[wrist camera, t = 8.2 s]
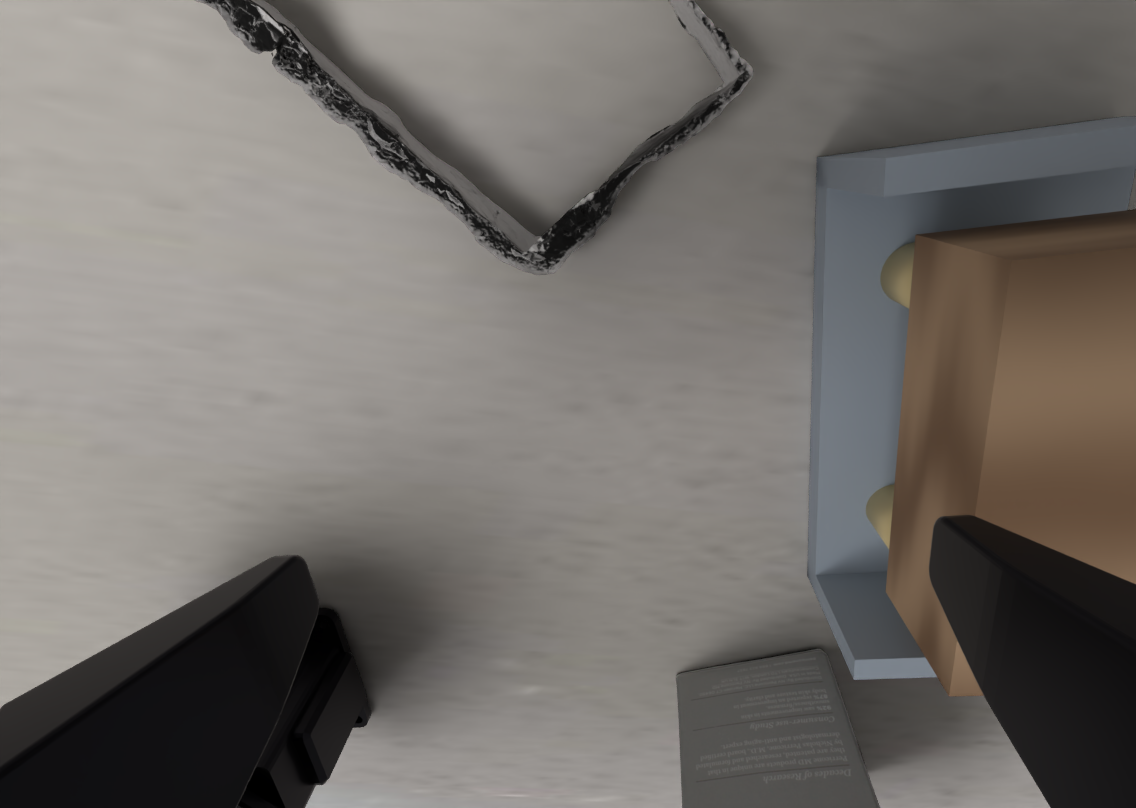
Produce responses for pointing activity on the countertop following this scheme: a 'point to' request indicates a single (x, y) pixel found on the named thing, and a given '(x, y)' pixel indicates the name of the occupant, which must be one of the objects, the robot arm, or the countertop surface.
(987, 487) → the brown rectangular block
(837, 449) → the peg stand
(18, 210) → the countertop surface
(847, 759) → the skincare box
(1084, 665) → the robot arm
